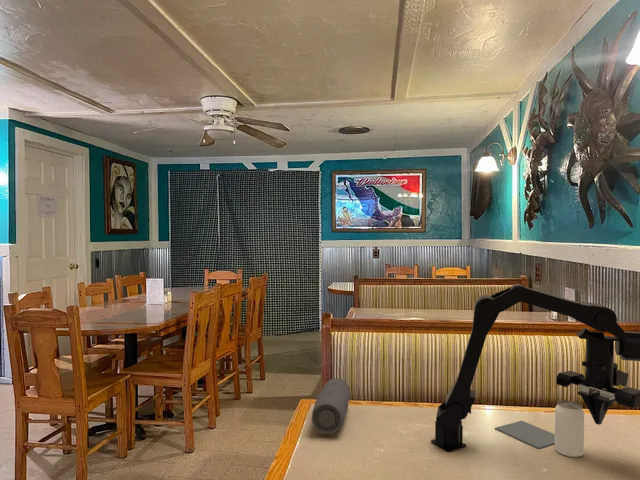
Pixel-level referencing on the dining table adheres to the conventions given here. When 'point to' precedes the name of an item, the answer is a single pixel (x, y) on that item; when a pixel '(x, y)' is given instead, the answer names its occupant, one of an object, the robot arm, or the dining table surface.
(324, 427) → the bluetooth speaker
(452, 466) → the dining table surface
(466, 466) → the dining table surface
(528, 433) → the mat
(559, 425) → the can
